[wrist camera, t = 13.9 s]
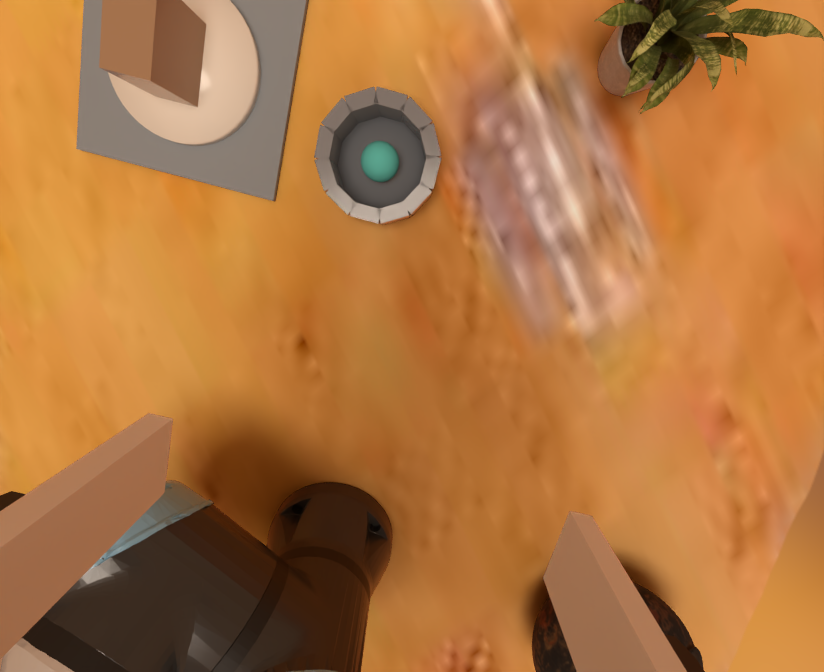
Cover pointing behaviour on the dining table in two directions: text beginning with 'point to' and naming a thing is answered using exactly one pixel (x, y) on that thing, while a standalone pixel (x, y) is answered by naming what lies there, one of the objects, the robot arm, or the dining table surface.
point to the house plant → (679, 42)
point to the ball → (379, 161)
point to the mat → (215, 163)
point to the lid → (181, 66)
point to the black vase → (552, 648)
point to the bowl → (362, 125)
